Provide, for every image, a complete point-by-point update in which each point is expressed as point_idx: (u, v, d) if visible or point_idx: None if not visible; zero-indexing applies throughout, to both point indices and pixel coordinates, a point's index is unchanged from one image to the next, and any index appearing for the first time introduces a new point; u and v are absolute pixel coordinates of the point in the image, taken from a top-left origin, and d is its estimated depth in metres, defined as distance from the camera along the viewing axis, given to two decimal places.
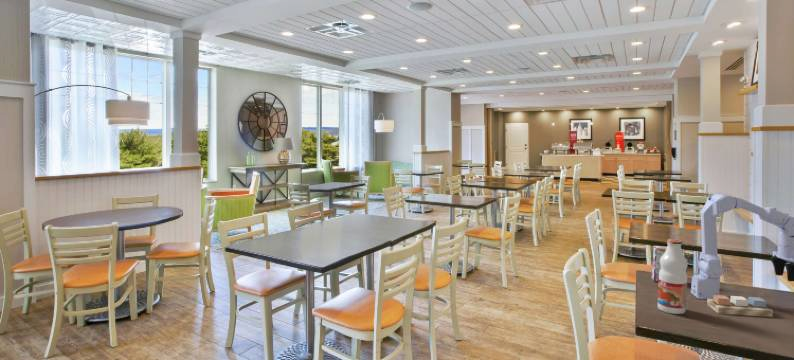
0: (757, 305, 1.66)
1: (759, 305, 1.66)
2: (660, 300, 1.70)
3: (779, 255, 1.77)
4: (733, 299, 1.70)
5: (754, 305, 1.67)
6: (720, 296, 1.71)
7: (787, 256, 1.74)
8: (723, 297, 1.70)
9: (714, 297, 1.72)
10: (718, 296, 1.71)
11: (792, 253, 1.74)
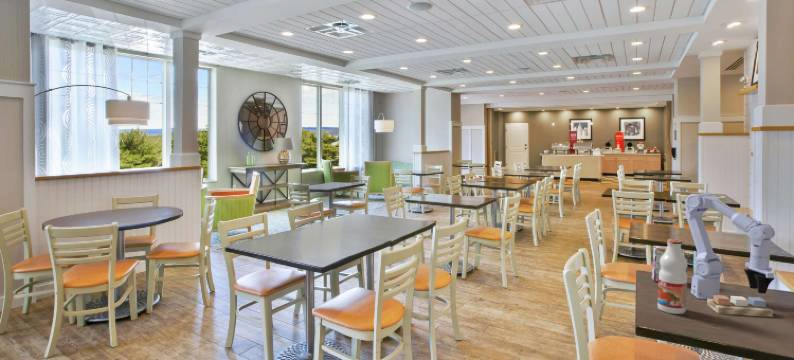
0: (757, 305, 1.66)
1: (759, 305, 1.66)
2: (660, 300, 1.70)
3: (751, 266, 1.67)
4: (733, 299, 1.70)
5: (754, 305, 1.67)
6: (720, 296, 1.71)
7: (759, 268, 1.65)
8: (723, 297, 1.70)
9: (714, 297, 1.72)
10: (718, 296, 1.71)
11: (764, 264, 1.64)
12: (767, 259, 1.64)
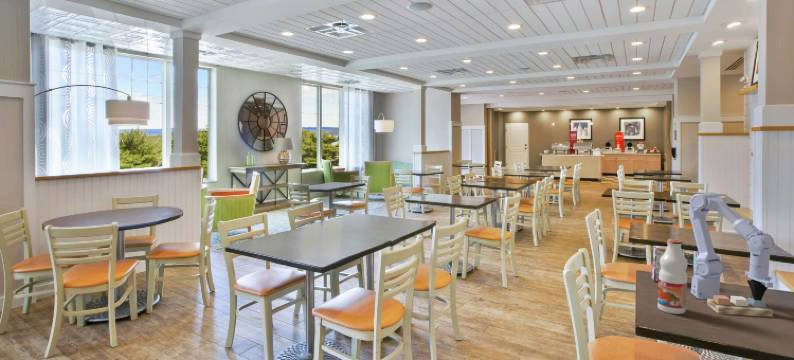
0: (757, 306, 1.66)
1: (759, 306, 1.66)
2: (660, 300, 1.70)
3: (750, 276, 1.67)
4: (733, 299, 1.70)
5: (754, 306, 1.67)
6: (720, 296, 1.71)
7: (758, 277, 1.65)
8: (723, 297, 1.70)
9: (714, 297, 1.72)
10: (718, 296, 1.71)
11: (764, 274, 1.64)
12: (766, 268, 1.64)
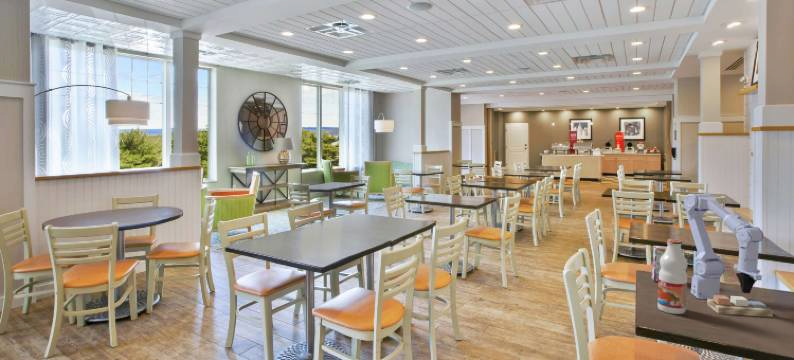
0: None
1: None
2: (660, 300, 1.70)
3: (739, 268, 1.68)
4: (733, 299, 1.70)
5: None
6: (720, 296, 1.71)
7: (747, 270, 1.66)
8: (723, 297, 1.70)
9: (714, 297, 1.72)
10: (718, 296, 1.71)
11: (752, 267, 1.65)
12: (755, 261, 1.65)
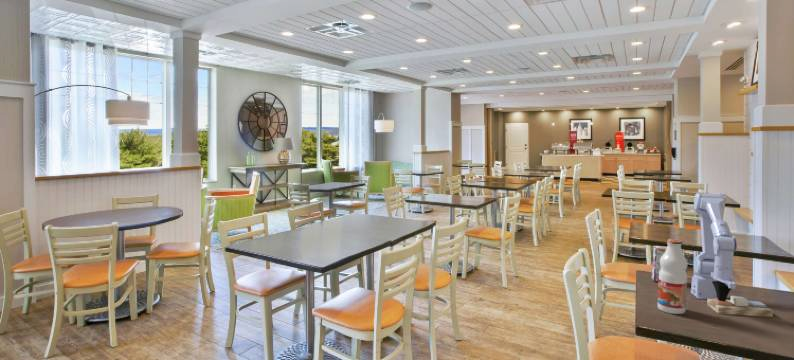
0: None
1: None
2: (660, 300, 1.70)
3: (715, 277, 1.70)
4: (733, 299, 1.70)
5: None
6: None
7: (722, 278, 1.68)
8: None
9: (714, 300, 1.72)
10: None
11: (727, 275, 1.67)
12: (730, 270, 1.67)
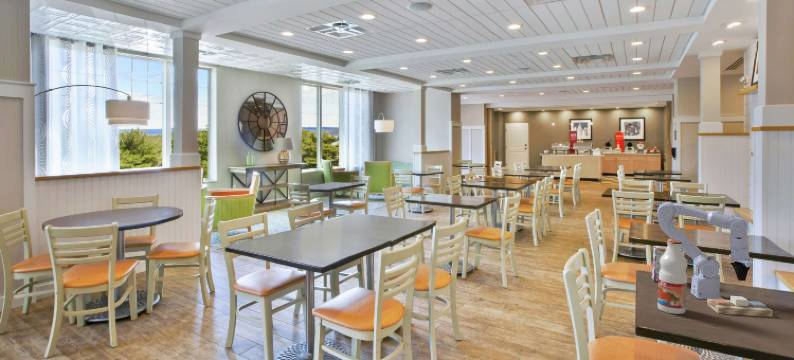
0: None
1: None
2: (660, 300, 1.70)
3: (732, 258, 1.78)
4: (733, 299, 1.70)
5: None
6: (720, 300, 1.71)
7: (739, 258, 1.75)
8: (722, 301, 1.70)
9: (714, 301, 1.72)
10: (718, 300, 1.71)
11: (744, 255, 1.75)
12: (746, 249, 1.75)
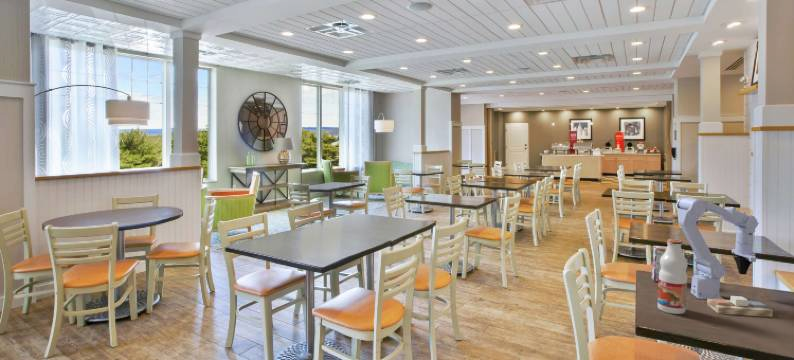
0: None
1: None
2: (660, 300, 1.70)
3: (736, 252, 1.84)
4: (733, 299, 1.70)
5: None
6: (720, 300, 1.71)
7: (743, 253, 1.82)
8: (722, 301, 1.70)
9: (714, 301, 1.72)
10: (718, 300, 1.71)
11: (748, 250, 1.81)
12: (750, 245, 1.81)
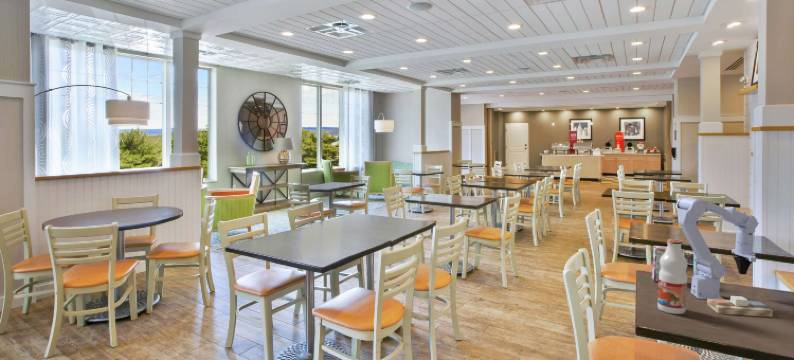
0: None
1: None
2: (660, 300, 1.70)
3: (736, 252, 1.84)
4: (733, 299, 1.70)
5: None
6: (720, 300, 1.71)
7: (743, 253, 1.82)
8: (722, 301, 1.70)
9: (714, 301, 1.72)
10: (718, 300, 1.71)
11: (748, 250, 1.81)
12: (750, 245, 1.81)
